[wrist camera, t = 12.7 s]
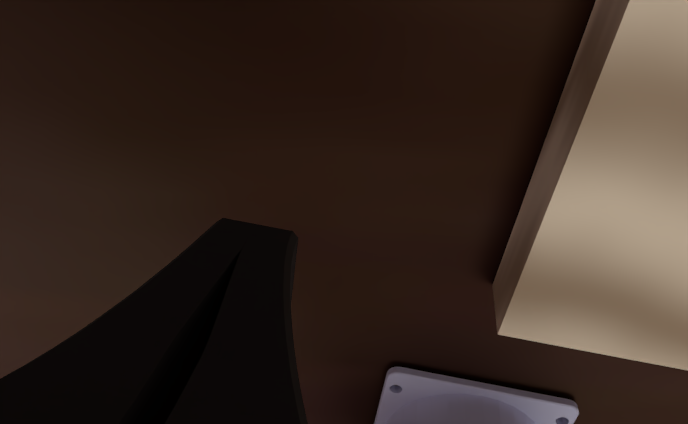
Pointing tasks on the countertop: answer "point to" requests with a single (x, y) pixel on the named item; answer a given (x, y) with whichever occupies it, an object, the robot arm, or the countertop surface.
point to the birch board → (609, 198)
